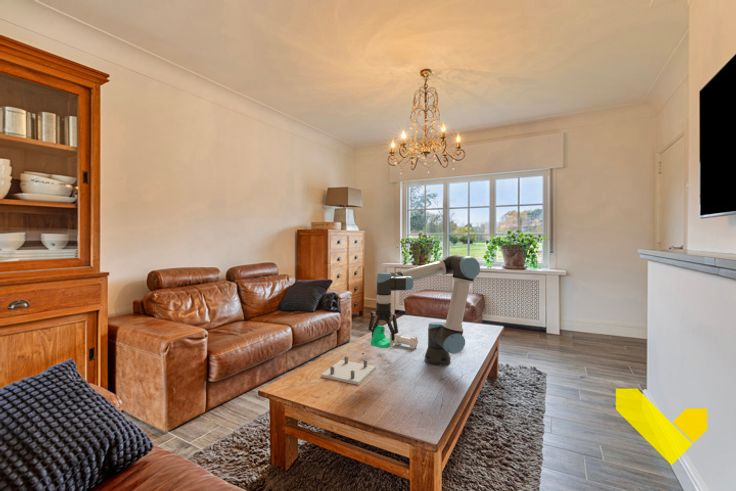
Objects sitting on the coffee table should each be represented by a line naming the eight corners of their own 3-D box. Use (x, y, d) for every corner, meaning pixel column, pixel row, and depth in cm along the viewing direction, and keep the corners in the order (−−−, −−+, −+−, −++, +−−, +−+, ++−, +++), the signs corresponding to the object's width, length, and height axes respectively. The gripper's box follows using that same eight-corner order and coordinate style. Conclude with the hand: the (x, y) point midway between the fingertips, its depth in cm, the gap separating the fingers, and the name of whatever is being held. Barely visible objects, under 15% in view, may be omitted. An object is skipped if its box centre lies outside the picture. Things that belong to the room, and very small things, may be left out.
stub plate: (375, 368, 190) (375, 360, 190) (358, 384, 170) (359, 375, 170) (340, 362, 199) (341, 353, 199) (321, 376, 179) (321, 367, 179)
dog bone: (418, 347, 227) (419, 335, 228) (412, 350, 220) (413, 337, 220) (398, 343, 236) (399, 331, 236) (392, 345, 228) (393, 333, 229)
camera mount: (382, 350, 171) (383, 330, 171) (370, 347, 175) (370, 327, 175) (395, 344, 181) (395, 325, 180) (383, 341, 185) (383, 322, 185)
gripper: (405, 302, 176) (404, 345, 177) (367, 299, 185) (367, 340, 186) (400, 305, 169) (400, 350, 170) (362, 301, 178) (361, 344, 179)
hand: (382, 345), depth 178 cm, fingers closed on camera mount, 8 cm apart
